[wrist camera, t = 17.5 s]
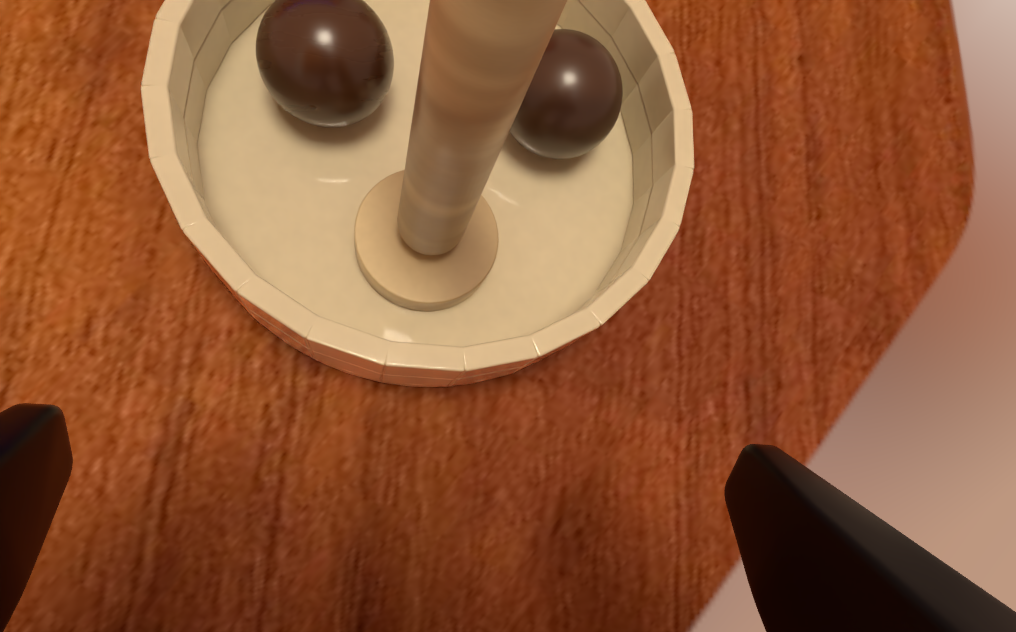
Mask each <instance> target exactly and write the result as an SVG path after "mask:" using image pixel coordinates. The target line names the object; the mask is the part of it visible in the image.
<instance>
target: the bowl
mask: <svg viewBox="0 0 1016 632" xmlns="http://www.w3.org/2000/svg"><path fill="white" fill-rule="evenodd" d="M274 1H275V0H165V1H164V2H163V4H162V6H161V8H160V9H159V11H158V13H157V14H156V19H155V20H154V23H153V28H152V33H151V38H150V43H149V48H148V53H147V57H146V62H145V67H144V72H143V77H142V82H141V86H142V87H141V97H142V105H143V113H144V121H145V129H146V137H147V145H148V154H149V158H150V162H151V165H152V167H153V169H154V171H155V173H156V176H157V178H158V180H159V182H160V184H161V186H162V189H163V191H164V193H165V195H166V197H167V200H168V202H169V204H170V206H171V208H172V210H173V213H174V215H175V217H176V219H177V221H178V224H179V226H180V228H181V229H182V231H183V233H184V234H185V235H186V237H187V238H188V239H189V241H190V242H191V243H192V245H193V246H194V247H195V249H196V250H197V251H198V253H199V254H200V255H201V257H202V258H203V259H204V261H205V262H206V263H207V265H208V266H209V267H210V269H211V270H212V271H213V272H214V273H215V275H216V276H217V277H218V278H219V279H220V280H221V282H222V283H223V284H224V285H225V286H226V287H227V288H228V290H229V291H230V292H231V293H232V295H233V296H234V297H235V298H236V300H237V301H238V302H239V303H240V304H241V305H242V306H243V307H244V308H245V309H246V310H247V311H248V313H249V314H250V315H251V316H252V317H253V318H254V319H256V320H257V322H259V323H260V324H262V325H263V326H264V327H266V328H267V329H268V330H270V331H271V332H272V333H273V334H275V335H276V336H277V337H279V338H280V339H281V340H283V341H284V342H285V343H287V344H288V345H290V346H292V347H293V348H295V349H297V350H299V351H300V352H302V353H304V354H306V355H307V356H309V357H311V358H313V359H314V360H316V361H318V362H321V363H323V364H326V365H328V366H331V367H333V368H335V369H338V370H340V371H343V372H345V373H348V374H351V375H355V376H359V377H362V378H366V379H370V380H374V381H377V382H382V383H389V384H397V385H404V386H412V387H448V386H456V385H464V384H471V383H478V382H482V381H486V380H489V379H493V378H497V377H501V376H504V375H509V374H512V373H515V372H517V371H519V370H521V369H523V368H525V367H527V366H529V365H532V364H534V363H536V362H538V361H539V360H541V359H543V358H545V357H547V356H549V355H551V354H553V353H555V352H557V351H559V350H561V349H563V348H565V347H567V346H568V345H570V344H572V343H573V342H575V341H577V340H578V339H580V338H582V337H583V336H585V335H587V334H589V333H590V332H592V331H594V330H595V329H597V328H599V327H600V326H601V325H603V324H604V323H605V322H606V321H607V320H608V319H609V318H610V317H612V316H613V315H614V314H615V313H616V312H617V311H618V310H619V309H620V308H621V307H622V306H623V305H624V304H625V303H626V302H628V301H629V300H630V299H631V298H632V297H633V296H634V295H635V294H636V293H637V292H638V291H639V290H640V289H641V288H643V287H644V286H645V285H646V284H647V282H648V281H649V280H650V279H651V277H652V275H653V274H654V272H655V270H656V269H657V267H658V265H659V263H660V262H661V260H662V258H663V256H664V255H665V253H666V251H667V250H668V248H669V246H670V244H671V243H672V241H673V239H674V238H675V236H676V234H677V232H678V231H679V227H680V225H681V220H682V216H683V212H684V208H685V204H686V200H687V196H688V192H689V187H690V183H691V179H692V175H693V169H694V148H693V120H692V110H691V105H690V102H689V98H688V95H687V92H686V88H685V85H684V81H683V78H682V75H681V71H680V68H679V65H678V61H677V58H676V55H675V53H674V50H673V48H672V46H671V44H670V43H669V41H668V39H667V37H666V36H665V34H664V32H663V30H662V29H661V27H660V25H659V23H658V22H657V20H656V18H655V16H654V15H653V13H652V11H651V10H650V8H649V6H648V4H647V3H646V1H645V0H567V2H566V4H565V7H564V9H563V11H562V14H561V16H560V18H559V20H558V23H557V25H556V27H555V29H571V30H576V31H580V32H583V33H585V34H588V35H590V36H591V37H593V38H595V39H596V40H598V41H599V42H600V43H601V44H602V45H603V46H604V47H605V48H606V49H607V50H608V51H609V52H610V54H611V55H612V57H613V58H614V60H615V62H616V64H617V66H618V69H619V72H620V75H621V80H622V87H623V97H622V105H621V110H620V113H619V116H618V119H617V121H616V123H615V125H614V127H613V128H612V130H611V132H610V133H609V134H608V136H607V137H606V138H605V139H604V140H603V141H602V142H601V143H600V144H599V145H598V146H596V147H595V148H594V149H592V150H591V151H589V152H587V153H585V154H583V155H580V156H578V157H574V158H570V159H549V158H545V157H541V156H538V155H536V154H534V153H532V152H530V151H528V150H527V149H525V148H524V147H523V146H522V145H520V144H519V143H518V142H517V141H516V140H515V138H514V137H513V136H512V135H511V133H510V132H509V133H508V135H507V138H506V140H505V142H504V144H503V147H502V149H501V151H500V154H499V156H498V158H497V160H496V163H495V165H494V167H493V169H492V172H491V174H490V176H489V178H488V181H487V183H486V185H485V187H484V190H483V192H482V194H481V195H482V196H483V197H484V198H485V200H486V201H487V203H488V204H489V206H490V208H491V210H492V212H493V214H494V216H495V220H496V223H497V228H498V237H499V243H498V251H497V255H496V259H495V262H494V264H493V267H492V268H491V270H490V272H489V274H488V275H487V277H486V278H485V280H484V281H483V283H482V284H481V285H480V287H479V288H478V289H477V290H476V291H475V292H474V293H473V294H472V295H471V296H470V297H469V298H467V299H466V300H464V301H463V302H461V303H459V304H457V305H455V306H453V307H450V308H447V309H443V310H438V311H416V310H410V309H407V308H403V307H401V306H398V305H396V304H393V303H392V302H390V301H388V300H387V299H385V298H384V297H382V296H381V295H380V294H378V293H377V292H376V291H375V290H374V289H373V288H372V287H371V285H370V284H369V283H368V282H367V280H366V279H365V277H364V275H363V274H362V272H361V270H360V267H359V265H358V262H357V258H356V254H355V246H354V226H355V220H356V215H357V212H358V209H359V207H360V205H361V203H362V201H363V199H364V198H365V196H366V195H367V193H368V192H369V191H370V190H371V189H372V188H373V187H374V186H375V185H376V184H377V183H378V182H380V181H381V180H383V179H384V178H386V177H387V176H389V175H391V174H394V173H396V172H399V171H402V170H405V163H406V157H407V150H408V143H409V136H410V130H411V123H412V116H413V110H414V103H415V96H416V90H417V83H418V76H419V70H420V63H421V56H422V50H423V43H424V36H425V29H426V23H427V16H428V9H429V3H430V0H363V1H365V2H366V3H367V4H368V5H369V6H370V7H371V8H372V9H373V10H374V11H375V13H376V14H377V15H378V16H379V18H380V19H381V21H382V22H383V24H384V26H385V28H386V30H387V32H388V35H389V37H390V40H391V44H392V48H393V55H394V72H393V78H392V82H391V86H390V88H389V90H388V93H387V95H386V96H385V98H384V100H383V102H382V103H381V104H380V105H379V107H378V108H377V109H376V110H375V111H374V112H373V113H372V114H370V115H369V116H368V117H366V118H365V119H363V120H361V121H359V122H357V123H355V124H352V125H349V126H344V127H338V128H327V127H319V126H315V125H312V124H308V123H306V122H304V121H301V120H299V119H297V118H296V117H294V116H292V115H291V114H290V113H288V112H287V111H286V110H284V109H283V108H282V107H281V106H280V105H279V104H278V103H277V102H276V101H275V99H274V98H273V97H272V96H271V94H270V93H269V91H268V89H267V88H266V86H265V84H264V82H263V80H262V78H261V75H260V72H259V69H258V65H257V60H256V49H255V48H256V37H257V32H258V28H259V25H260V22H261V20H262V18H263V16H264V14H265V12H266V11H267V10H268V8H269V7H270V5H271V4H272V3H273V2H274Z"/></svg>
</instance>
